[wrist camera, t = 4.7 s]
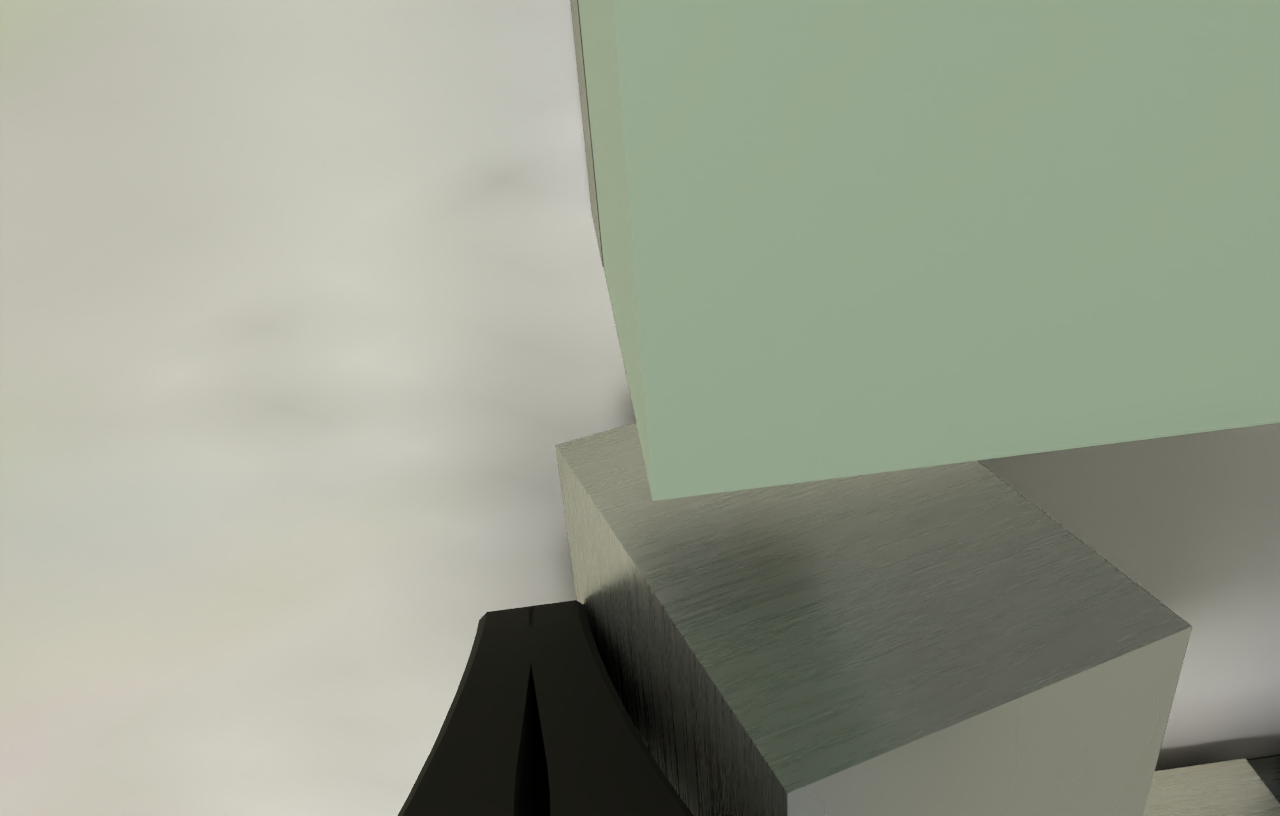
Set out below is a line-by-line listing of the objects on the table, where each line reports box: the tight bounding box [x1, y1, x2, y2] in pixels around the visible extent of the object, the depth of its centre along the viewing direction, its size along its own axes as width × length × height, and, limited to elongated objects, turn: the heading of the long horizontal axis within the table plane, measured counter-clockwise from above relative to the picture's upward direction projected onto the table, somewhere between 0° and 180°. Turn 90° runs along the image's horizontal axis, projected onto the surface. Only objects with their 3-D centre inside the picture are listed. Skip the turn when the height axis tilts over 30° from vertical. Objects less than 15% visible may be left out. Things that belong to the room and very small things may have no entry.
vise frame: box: [570, 0, 1280, 816], centre depth 12 cm, size 21×13×5 cm, turn 4°
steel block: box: [556, 423, 1192, 816], centre depth 12 cm, size 6×4×6 cm, turn 4°
